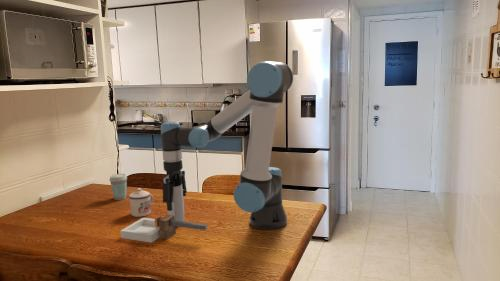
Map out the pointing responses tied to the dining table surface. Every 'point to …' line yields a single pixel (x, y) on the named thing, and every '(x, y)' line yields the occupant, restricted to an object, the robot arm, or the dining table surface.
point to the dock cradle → (142, 231)
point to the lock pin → (182, 224)
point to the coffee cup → (119, 186)
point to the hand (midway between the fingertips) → (176, 214)
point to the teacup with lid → (140, 203)
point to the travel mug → (178, 199)
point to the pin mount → (166, 227)
